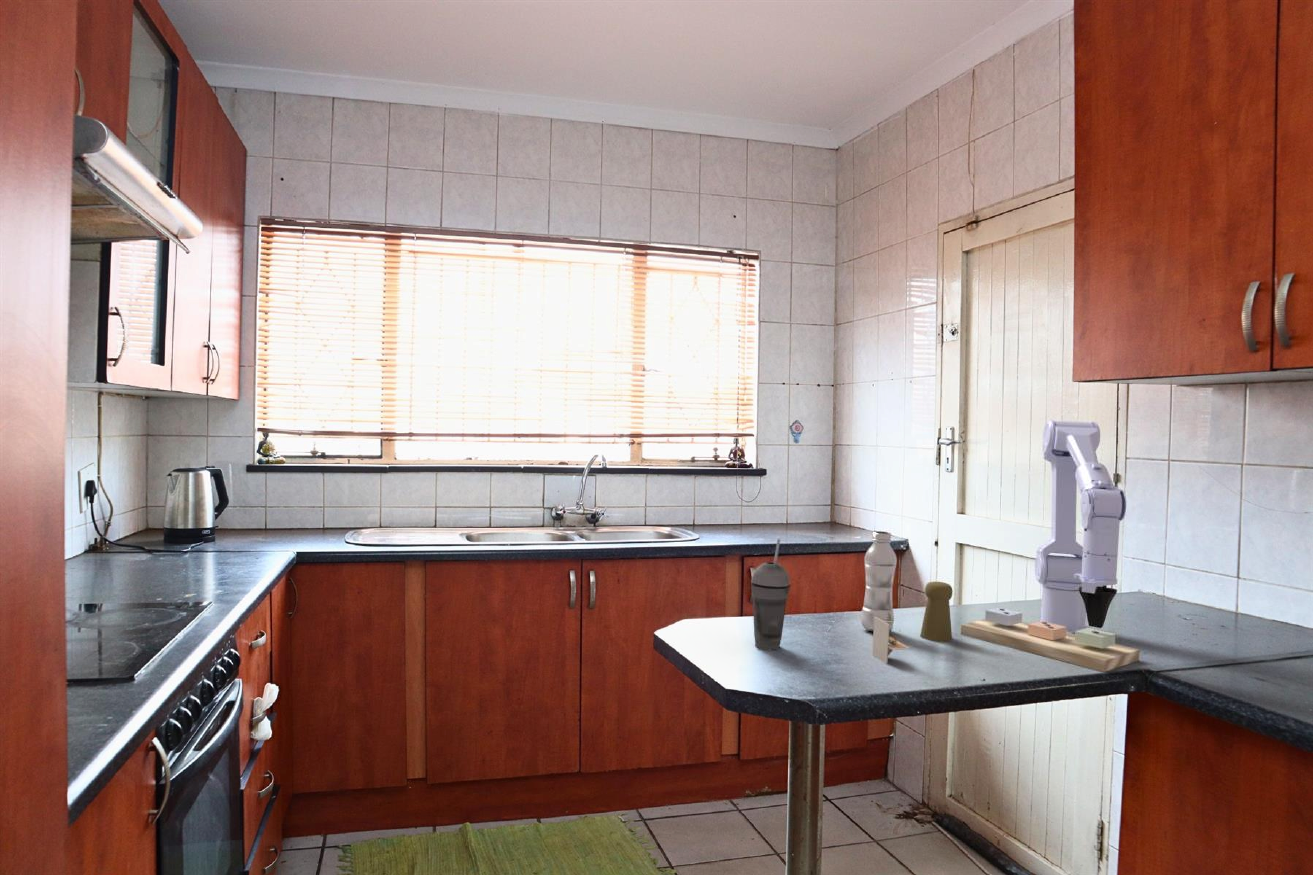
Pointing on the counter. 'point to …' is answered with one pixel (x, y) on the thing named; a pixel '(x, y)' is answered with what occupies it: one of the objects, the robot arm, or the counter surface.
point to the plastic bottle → (879, 581)
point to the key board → (1052, 645)
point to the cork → (937, 612)
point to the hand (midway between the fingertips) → (1095, 626)
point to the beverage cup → (769, 603)
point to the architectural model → (884, 640)
